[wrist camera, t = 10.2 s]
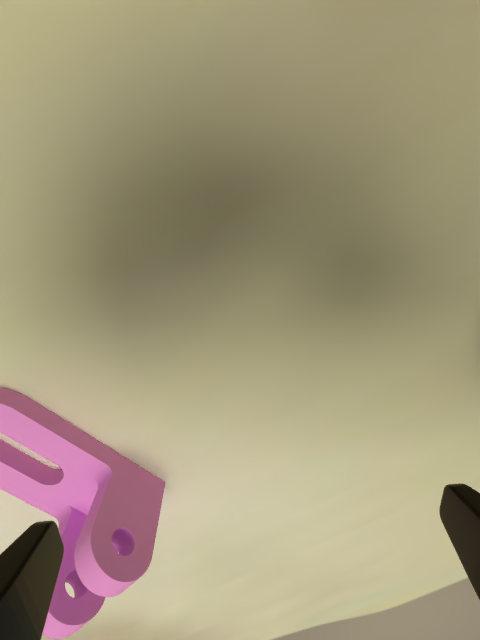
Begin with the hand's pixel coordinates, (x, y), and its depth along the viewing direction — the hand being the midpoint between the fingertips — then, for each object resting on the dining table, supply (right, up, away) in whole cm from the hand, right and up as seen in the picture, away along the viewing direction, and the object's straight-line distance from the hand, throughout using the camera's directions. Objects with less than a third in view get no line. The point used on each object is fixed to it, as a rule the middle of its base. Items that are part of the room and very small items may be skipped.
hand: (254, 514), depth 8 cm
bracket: (-12, -4, +14) cm, 19 cm away
